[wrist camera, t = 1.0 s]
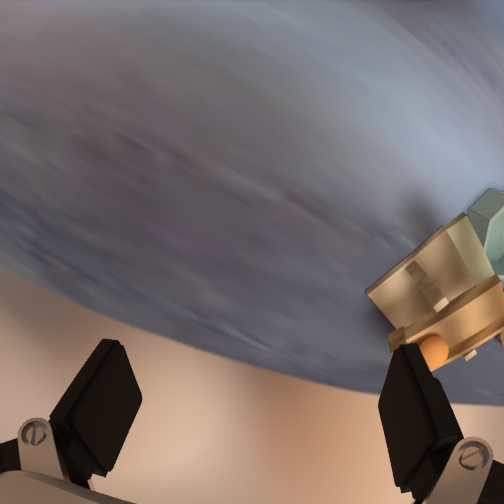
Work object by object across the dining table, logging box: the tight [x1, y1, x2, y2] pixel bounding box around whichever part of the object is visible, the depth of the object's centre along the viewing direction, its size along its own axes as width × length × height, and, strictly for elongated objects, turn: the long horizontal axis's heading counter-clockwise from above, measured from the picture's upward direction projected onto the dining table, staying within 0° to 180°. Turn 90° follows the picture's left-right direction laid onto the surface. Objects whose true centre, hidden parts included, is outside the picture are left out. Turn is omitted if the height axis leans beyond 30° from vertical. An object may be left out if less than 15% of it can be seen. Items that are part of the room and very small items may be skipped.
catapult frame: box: [366, 226, 477, 361], centre depth 33 cm, size 13×12×10 cm
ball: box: [419, 336, 449, 369], centre depth 29 cm, size 4×4×4 cm
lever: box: [388, 212, 504, 371], centre depth 28 cm, size 14×16×3 cm
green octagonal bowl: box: [467, 188, 504, 280], centre depth 31 cm, size 10×10×5 cm
